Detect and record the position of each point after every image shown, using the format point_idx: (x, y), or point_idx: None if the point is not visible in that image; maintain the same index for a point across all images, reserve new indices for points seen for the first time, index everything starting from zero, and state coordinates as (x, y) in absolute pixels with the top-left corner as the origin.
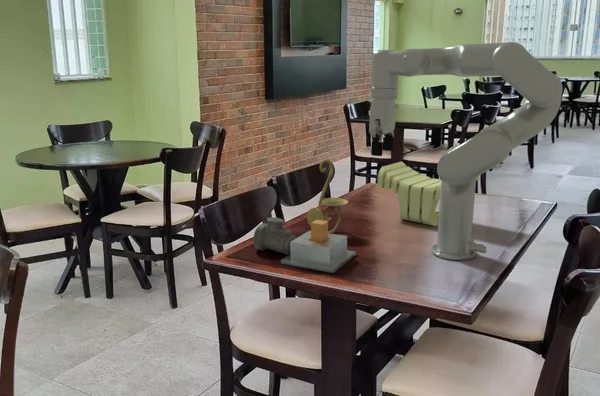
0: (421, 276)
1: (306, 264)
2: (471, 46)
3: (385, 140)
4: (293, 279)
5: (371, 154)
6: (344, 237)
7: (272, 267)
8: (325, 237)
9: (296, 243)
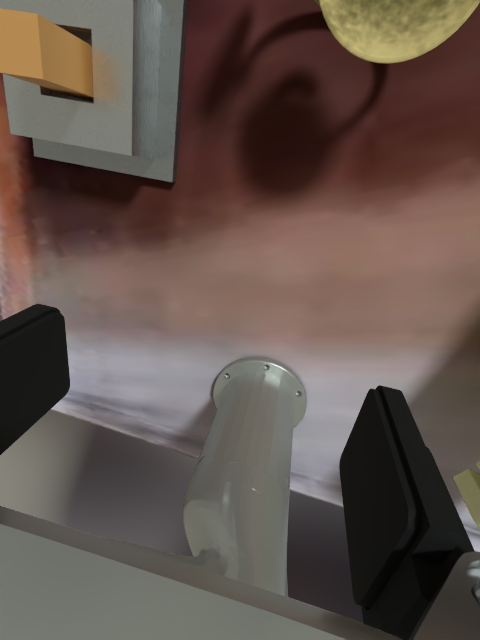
0: (111, 338)
1: None
2: None
3: (382, 505)
4: None
5: (37, 306)
6: (115, 151)
7: None
8: (61, 89)
9: None
